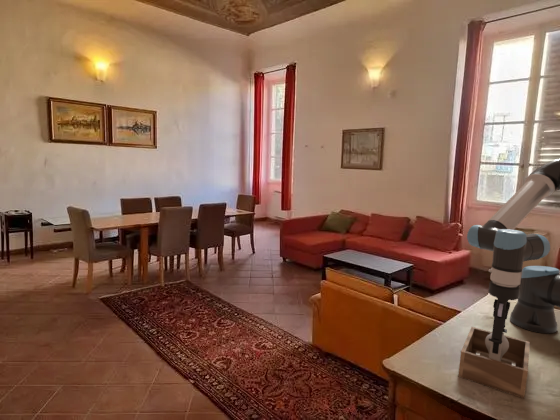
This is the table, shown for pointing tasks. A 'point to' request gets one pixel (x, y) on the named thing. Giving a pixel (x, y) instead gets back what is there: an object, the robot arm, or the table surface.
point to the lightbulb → (504, 344)
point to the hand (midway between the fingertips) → (495, 357)
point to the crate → (495, 363)
